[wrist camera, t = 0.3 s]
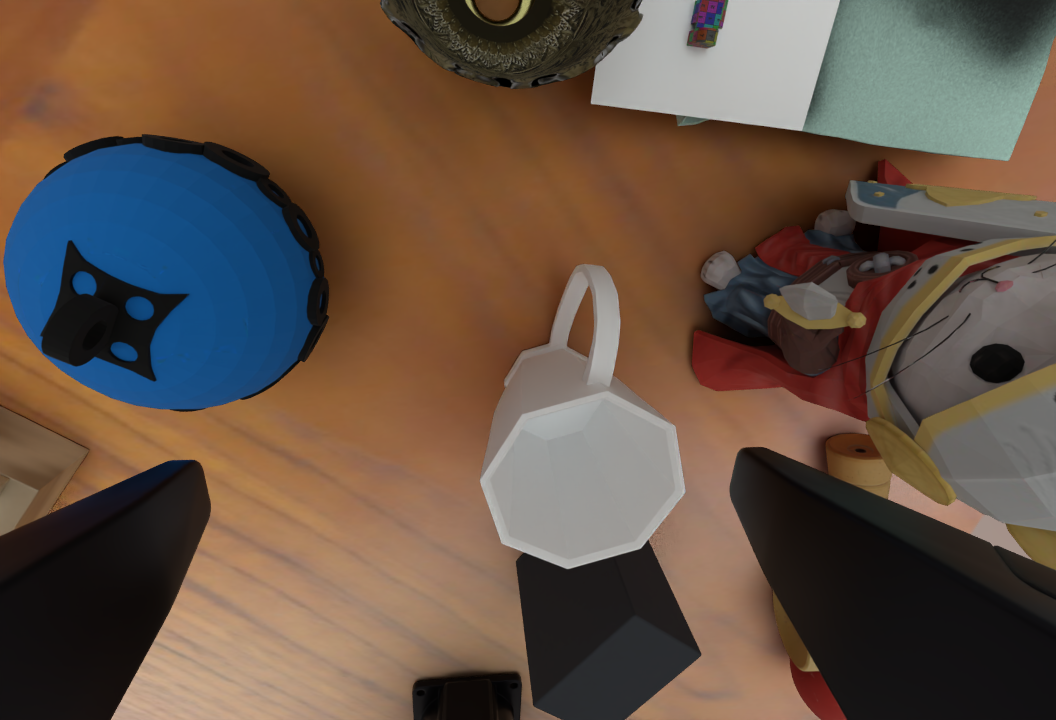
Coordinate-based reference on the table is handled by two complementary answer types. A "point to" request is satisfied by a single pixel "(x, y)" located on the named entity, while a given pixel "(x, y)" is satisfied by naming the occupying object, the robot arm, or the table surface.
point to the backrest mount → (32, 469)
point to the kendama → (847, 462)
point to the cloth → (931, 74)
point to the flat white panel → (720, 60)
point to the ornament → (166, 273)
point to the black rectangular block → (601, 634)
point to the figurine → (913, 338)
